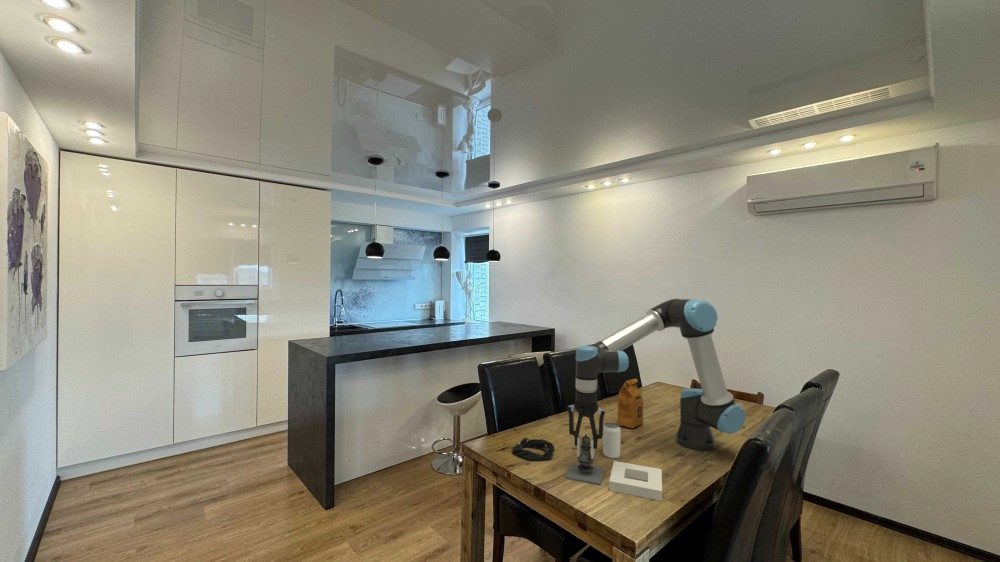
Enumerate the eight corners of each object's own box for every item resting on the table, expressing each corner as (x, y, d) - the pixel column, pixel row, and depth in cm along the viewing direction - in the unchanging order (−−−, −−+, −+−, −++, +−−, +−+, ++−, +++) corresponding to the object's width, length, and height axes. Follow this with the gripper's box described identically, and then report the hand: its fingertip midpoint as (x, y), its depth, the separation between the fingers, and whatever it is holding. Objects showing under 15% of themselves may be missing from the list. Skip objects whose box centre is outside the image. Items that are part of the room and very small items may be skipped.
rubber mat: (604, 470, 140) (604, 468, 140) (600, 485, 129) (600, 483, 129) (571, 464, 145) (571, 462, 145) (565, 478, 134) (565, 476, 134)
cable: (561, 456, 152) (561, 445, 152) (537, 467, 142) (538, 455, 143) (529, 443, 165) (529, 432, 165) (505, 452, 155) (505, 441, 155)
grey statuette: (575, 464, 140) (575, 431, 140) (591, 463, 140) (591, 430, 140) (579, 472, 134) (580, 437, 134) (596, 471, 134) (596, 436, 135)
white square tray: (661, 477, 135) (661, 469, 135) (662, 500, 120) (662, 491, 120) (613, 469, 141) (614, 460, 141) (609, 490, 126) (609, 481, 126)
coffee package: (646, 425, 188) (647, 379, 188) (633, 431, 179) (633, 383, 180) (628, 419, 195) (628, 376, 196) (614, 425, 187) (614, 379, 187)
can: (617, 460, 148) (617, 428, 149) (601, 456, 152) (601, 425, 152) (622, 454, 154) (622, 424, 154) (605, 450, 157) (606, 420, 158)
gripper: (612, 390, 138) (611, 456, 137) (564, 385, 144) (564, 448, 144) (610, 395, 131) (609, 465, 130) (560, 390, 137) (559, 456, 137)
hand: (585, 456), depth 137 cm, fingers closed on grey statuette, 4 cm apart
